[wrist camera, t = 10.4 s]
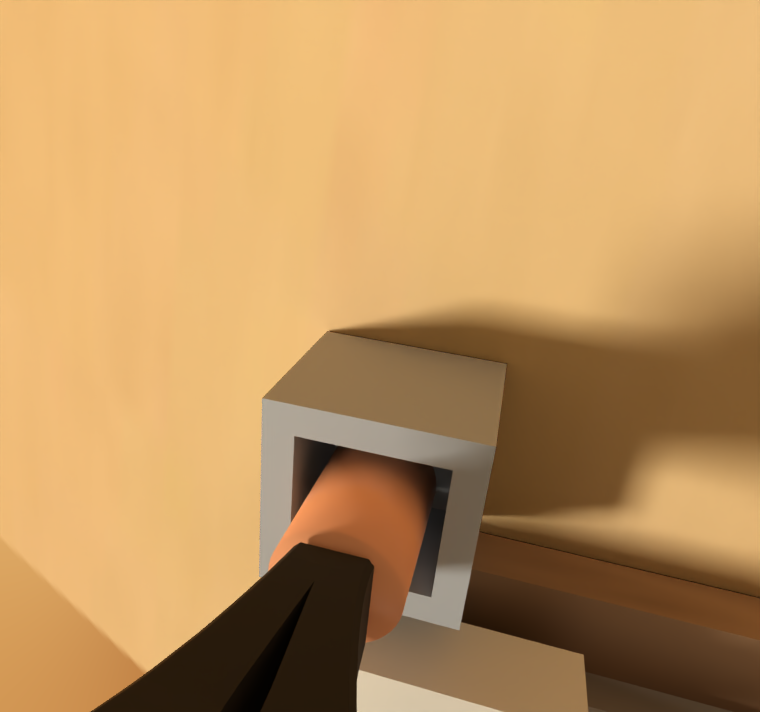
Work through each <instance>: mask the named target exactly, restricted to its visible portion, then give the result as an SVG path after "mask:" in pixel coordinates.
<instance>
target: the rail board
mask: <svg viewBox="0 0 760 712" xmlns="http://www.w3.org/2000/svg"><path fill="white" fill-rule="evenodd" d="M461 622H462V623H466V624H470V625H473V626H477V627H481V628H485V629H489V630H492V631H496V632H500V633H504V634H507V635H511V636H515V637H519V638H522V639H526V640H530V641H534V642H538V643H541V644H545V645H549V646H553V647H556V648H560V649H564V650H568V651H571V652H575V653H579V654H583V655H584V665H585V677H586V690H587V702H588V712H760V598H757V597H753V596H748V595H744V594H740V593H736V592H731V591H727V590H723V589H719V588H714V587H710V586H706V585H702V584H697V583H693V582H689V581H685V580H680V579H676V578H672V577H668V576H664V575H659V574H655V573H651V572H647V571H642V570H638V569H634V568H630V567H625V566H621V565H617V564H613V563H608V562H604V561H600V560H596V559H591V558H587V557H583V556H579V555H574V554H570V553H566V552H562V551H557V550H553V549H549V548H545V547H540V546H536V545H532V544H528V543H523V542H519V541H515V540H511V539H507V538H502V537H498V536H494V535H490V534H485V533H481V532H479V535H478V540H477V545H476V550H475V555H474V560H473V565H472V570H471V575H470V580H469V585H468V590H467V595H466V600H465V605H464V610H463V615H462V620H461Z"/></svg>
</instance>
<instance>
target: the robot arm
mask: <svg viewBox="0 0 760 712" xmlns="http://www.w3.org/2000/svg"><path fill="white" fill-rule="evenodd" d="M373 574H374V565H373V564H372V563H371V562H370V560H369V559H366V558H362V557H358V556H354V555H350V554H346V553H342V552H338V551H334V550H330V549H326V548H322V547H318V546H314V545H310V544H306V543H302V542H300V543H298V544H297V545H295V546H294V547H293V548H292V549H291V550H290V551H289V552H288V553H287V554H286V555H284V556H283V557H282V558H281V559H280V560H279V561H278V562H277V563H276V564H275V565H274V566H273V567H272V568H271V569H270V570H269V571H268V572H267V573H266V574H265V575H264V576H263V577H262V578H260V579H259V580H258V581H257V582H256V583H255V584H254V585H253V586H252V587H251V588H250V589H248V590H247V591H246V592H245V593H244V594H243V595H242V596H241V597H240V598H238V599H237V600H236V601H235V602H234V603H233V604H231V605H230V606H229V607H228V608H227V609H226V610H225V611H223V612H222V613H221V614H220V615H219V616H218V617H216V618H215V619H214V620H213V621H212V622H211V623H209V624H208V625H207V626H206V627H205V628H203V629H202V630H201V631H200V632H199V633H197V634H196V635H195V636H194V637H192V638H191V639H190V640H188V641H187V642H186V643H185V644H183V645H182V646H181V647H180V648H178V649H177V650H176V651H174V652H173V653H172V654H171V655H169V656H168V657H167V658H165V659H164V660H163V661H162V662H160V663H159V664H158V665H156V666H155V667H154V668H152V669H151V670H150V671H148V672H147V673H146V674H144V675H143V676H142V677H140V678H139V679H138V680H136V681H135V682H133V683H132V684H131V685H129V686H128V687H126V688H125V689H123V690H122V691H121V692H119V693H118V694H116V695H115V696H113V697H112V698H110V699H109V700H107V701H106V702H104V703H103V704H101V705H100V706H98V707H97V708H96V709H94V710H92V711H91V712H357V677H358V672H359V668H360V664H361V660H362V655H363V651H364V647H365V643H366V634H367V626H368V617H369V608H370V600H371V591H372V583H373Z"/></svg>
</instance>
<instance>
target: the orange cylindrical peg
mask: <svg viewBox="0 0 760 712" xmlns="http://www.w3.org/2000/svg"><path fill="white" fill-rule="evenodd" d="M436 485H437V484H436V476H435V472H434V469H433V466H430V465H425V464H420V463H416V462H411V461H407V460H402V459H397V458H393V457H388V456H384V455H379V454H375V453H370V452H365V451H361V450H356V449H352V448H347V447H343V446H338V447H337V448H336V450H335V451H334V453H333V455H332V456H331V458H330V460H329V461H328V463H327V464H326V466H325V468H324V469H323V471H322V473H321V474H320V476H319V478H318V479H317V481H316V483H315V484H314V486H313V488H312V489H311V491H310V493H309V494H308V496H307V497H306V499H305V501H304V502H303V504H302V506H301V507H300V509H299V511H298V512H297V514H296V516H295V517H294V519H293V521H292V522H291V524H290V525H289V527H288V529H287V530H286V532H285V534H284V535H283V537H282V539H281V540H280V542H279V544H278V545H277V547H276V549H275V550H274V552H273V554H272V556H271V558H270V562H269V567H268V571H269V570H270V569H271V568H272V567H273V566H274V565H275V564H276V563H277V562H278V561H279V560H280V559H281V558H282V557H283V556H284V555H286V554H287V553H288V552H289V551H290V550H291V549H292V548H293V547H294V546H295V545H297V544H298V543H300V542H302V543H306V544H310V545H314V546H318V547H322V548H326V549H330V550H334V551H338V552H342V553H346V554H350V555H354V556H358V557H362V558H366V559H369V560H370V562H371V563H372V564H373V565H374V574H373V583H372V591H371V600H370V608H369V617H368V626H367V634H366V643H367V642H371V641H374V640H377V639H380V638H381V637H383V636H385V635H387V634H388V633H389V632H391V631H392V630H393V629H394V628H395V627H396V625H397V624H398V622H399V621H400V619H401V616H402V614H403V610H404V607H405V603H406V599H407V596H408V592H409V588H410V585H411V581H412V577H413V574H414V570H415V566H416V563H417V559H418V555H419V552H420V548H421V545H422V541H423V537H424V534H425V530H426V526H427V523H428V519H429V515H430V512H431V508H432V504H433V501H434V497H435V493H436Z"/></svg>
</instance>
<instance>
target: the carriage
mask: <svg viewBox="0 0 760 712" xmlns="http://www.w3.org/2000/svg"><path fill="white" fill-rule="evenodd" d="M357 712H588V702H587V690H586V677H585V665H584V655H583V654H579V653H575V652H571V651H568V650H564V649H560V648H556V647H553V646H549V645H545V644H541V643H538V642H534V641H530V640H526V639H522V638H519V637H515V636H511V635H507V634H504V633H500V632H496V631H492V630H489V629H485V628H481V627H477V626H473V625H470V624H466V623H462V622H461V625H460V630H456V629H452V628H448V627H445V626H441V625H437V624H433V623H430V622H426V621H422V620H418V619H415V618H411V617H407V616H404V615H402V616H401V619H400V621H399V622H398V624H397V625H396V627H395V628H394V629H393V630H392V631H391V632H389V633H388V634H387V635H385V636H383V637H381V638H380V639H377V640H374V641H371V642H367V643H365V647H364V651H363V655H362V660H361V664H360V668H359V672H358V677H357Z"/></svg>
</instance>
